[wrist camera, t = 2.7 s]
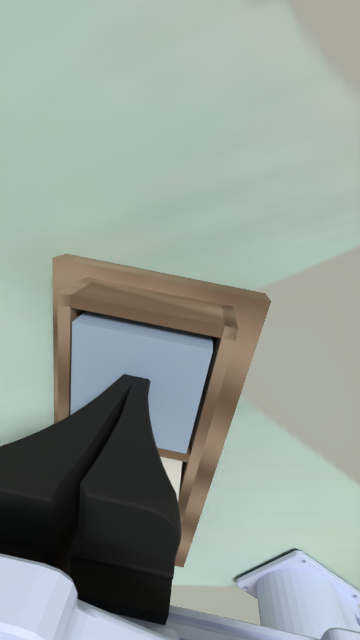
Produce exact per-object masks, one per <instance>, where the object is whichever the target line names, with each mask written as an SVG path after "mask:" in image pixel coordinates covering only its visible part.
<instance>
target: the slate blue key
mask: <svg viewBox="0 0 360 640" xmlns="http://www.w3.org/2000/svg"><path fill="white" fill-rule="evenodd" d="M212 352H213V340H212V336H209V335H204V334H199V333H194V332H189V331H184V330H179V329H174V328H169V327H164V326H160V325H155V324H150V323H145V322H140V321H135V320H130V319H125V318H120V317H115V316H110V315H106V314H101V313H96V312H91V311H85V312H84V313H83V314H82V315H80V316H79V317H78V318H77V319H75V320H74V321H73V322H72V363H71V414H73V413H75V412H76V411H78V410H79V409H81V408H82V407H84V406H85V405H86V404H88V403H89V402H91V401H92V400H93V399H95V398H96V397H97V396H99V395H100V394H101V393H102V392H104V391H105V390H106V389H107V388H108V387H110V386H111V385H112V384H113V383H114V382H115V381H116V380H117V379H118V378H120V377H121V376H122V375H123V374H127V375H132V376H137V377H142V378H146V379H149V380H150V381H151V382H150V388H149V394H148V402H149V414H150V421H151V426H152V431H153V435H154V439H155V443H156V446H157V448H161V449H166V450H171V451H175V452H180V453H185V454H186V453H187V449H188V445H189V441H190V437H191V434H192V430H193V426H194V422H195V418H196V414H197V410H198V407H199V403H200V399H201V395H202V391H203V387H204V383H205V379H206V376H207V372H208V368H209V364H210V360H211V356H212Z"/></svg>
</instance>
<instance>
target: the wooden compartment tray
mask: <svg viewBox="0 0 360 640" xmlns="http://www.w3.org/2000/svg"><path fill="white" fill-rule="evenodd" d="M270 303H271V301H270V299H269V298H268V297H267V295H266V294H265V293H260V292H255V291H250V290H245V289H240V288H235V287H230V286H225V285H220V284H215V283H210V282H205V281H200V280H195V279H190V278H185V277H180V276H175V275H170V274H165V273H160V272H154V271H149V270H144V269H139V268H134V267H129V266H124V265H119V264H114V263H109V262H104V261H99V260H94V259H89V258H84V257H79V256H74V255H69V254H64V255H61V256H57V257H54V258H53V337H54V424H55V423H57V422H59V421H61V420H63V419H65V418H66V417H68V416H70V415H71V363H72V322H73V321H74V320H75V319H77V318H78V317H79V316H80V315H82V314H83V313H84V312H85V311H91V312H96V313H101V314H106V315H110V316H115V317H120V318H125V319H130V320H135V321H140V322H145V323H150V324H155V325H160V326H164V327H169V328H174V329H179V330H184V331H189V332H194V333H199V334H204V335H209V336H212V340H213V352H212V356H211V360H210V364H209V368H208V372H207V376H206V379H205V383H204V387H203V391H202V395H201V399H200V403H199V407H198V410H197V414H196V418H195V422H194V426H193V430H192V434H191V437H190V441H189V445H188V449H187V453H186V454H185V453H180V452H175V451H171V450H166V449H161V448H157V450H158V452H159V455H160V457H165V458H169V459H174V460H179V461H182V469H181V479H180V489H179V498H178V505H179V512H180V519H181V542H180V545H179V549H178V552H177V555H176V559H175V566H179V567H184V564H185V561H186V558H187V555H188V552H189V549H190V546H191V543H192V540H193V537H194V534H195V530H196V527H197V524H198V521H199V518H200V515H201V512H202V509H203V506H204V503H205V500H206V497H207V494H208V491H209V488H210V485H211V482H212V479H213V476H214V473H215V470H216V467H217V464H218V461H219V458H220V455H221V452H222V449H223V446H224V442H225V439H226V436H227V433H228V430H229V427H230V424H231V421H232V418H233V415H234V412H235V409H236V406H237V403H238V400H239V397H240V394H241V391H242V388H243V385H244V382H245V379H246V376H247V372H248V370H249V366H250V364H251V361H252V358H253V354H254V351H255V348H256V345H257V342H258V339H259V336H260V333H261V330H262V327H263V324H264V321H265V318H266V315H267V312H268V309H269V306H270Z"/></svg>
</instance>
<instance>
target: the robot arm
mask: <svg viewBox="0 0 360 640" xmlns="http://www.w3.org/2000/svg"><path fill="white" fill-rule="evenodd" d="M150 382H151V381H150V380H149V379H146V378H142V377H137V376H132V375H127V374H123V375H122V376H121V377H120V378H118V379H117V380H116V381H115V382H114V383H113V384H112V385H111V386H110V387H108V388H107V389H106V390H105V391H104V392H102V393H101V394H100V395H99V396H97V397H96V398H95V399H93V400H92V401H91V402H89V403H88V404H86V405H85V406H84V407H82V408H81V409H79V410H78V411H76V412H75V413H73V414H71V415H70V416H68V417H66V418H65V419H63V420H61V421H59V422H57V423H55V424H53V425H51V426H50V427H48V428H46V429H44V430H41V431H39V432H37V433H35V434H32V435H30V436H27V437H25V438H22V439H20V440H17V441H15V442H12V443H9V444H6V445H3V446H0V640H360V609H359V606H358V605H360V592H359V591H358V590H356V589H355V588H353V587H352V586H350V585H349V584H348V583H346V582H345V581H343V580H342V579H340V578H339V577H337V576H336V575H335V574H333V573H332V572H330V571H329V570H327V569H326V568H324V567H323V566H322V565H320V564H319V563H317V562H316V561H314V560H313V559H312V558H310V557H309V556H307V555H306V554H304V553H303V552H301V551H298V550H296V551H293V552H291V553H289V554H287V555H285V556H283V557H281V558H279V559H277V560H275V561H273V562H271V563H268V564H266V565H264V566H262V567H260V568H258V569H256V570H254V571H252V572H250V573H248V574H246V575H244V576H242V577H240V578H238V579H237V580H236V583H237V586H238V587H239V588H241V589H243V590H244V591H246V592H247V593H249V594H251V595H252V596H254V597H255V598H257V599H258V606H259V613H260V621H261V626H260V625H256V624H251V623H247V622H242V621H238V620H233V619H229V618H225V617H219V616H216V615H211V614H207V613H202V612H198V611H193V610H189V609H185V608H181V607H176V606H172V605H170V596H171V586H172V580H173V575H174V566H175V559H176V555H177V552H178V549H179V545H180V542H181V519H180V512H179V505H178V500H177V495H176V492H175V490H174V488H173V486H172V484H171V482H170V480H169V478H168V475H167V473H166V471H165V468H164V466H163V463H162V461H161V458H160V455H159V452H158V450H157V446H156V443H155V439H154V435H153V431H152V426H151V421H150V414H149V402H148V394H149V388H150Z"/></svg>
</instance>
